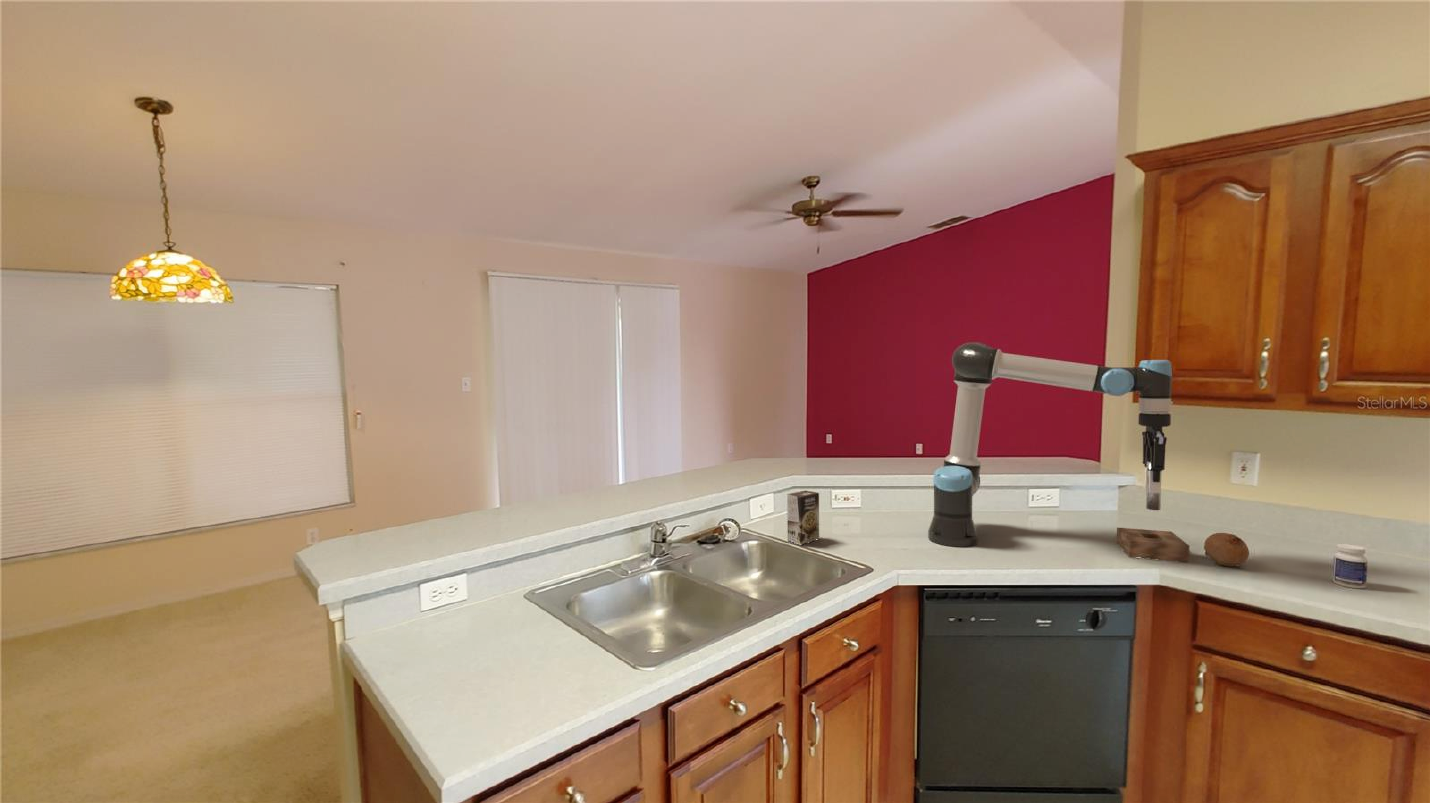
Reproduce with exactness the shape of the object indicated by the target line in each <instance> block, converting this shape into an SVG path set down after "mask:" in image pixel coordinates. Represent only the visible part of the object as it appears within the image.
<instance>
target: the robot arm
mask: <svg viewBox="0 0 1430 803" xmlns="http://www.w3.org/2000/svg"><path fill="white" fill-rule="evenodd" d="M951 363H952V367H953V370H954V378H953V379H954V380H953V382H954V383H955V384H956V385H957V391H956V392H957V393H956V402H955V410H954V417H953V424H952V434H951V442H950V449H949V454H948V455H947V456H945V457H944V461H943V466H941V467H939V468H937V469H936V470H935V471H934V473H933V474H934V475H933V517H932V519H931V522H930V525H929V527H928V532H927V538H928V539H929V540H930V541H931V542H933V543H935V544H938V545H941V546H949V547H960V548H961V547H962V548H963V547H971V546H975V545H977V544H978V542H979V534H978V531H977V529H976V525H975V522H974V519H973V496H974V495H975V494H976V493H977V491H978V490H979V489H980V486H981V476H980V474H981V473H980V472H981V466H982V465H981V462H980V461H979V459H978V449H979V441H980V435H981V427H982V426H981V425H982V419H983V418H982V417H983V411H984V403H985V402H984V401H985V397H986V396H985V395H986V389H987V388H988V387H990V386H991V385H992V380H995V379H997V378H1002V379H1009V380H1015V381H1021V382H1023V381H1024V382H1029V383H1035V384H1042V385H1047V386H1048V385H1049V386H1055V387H1060V388H1069V389H1075V390H1080V391H1087V392H1094V393H1099V394H1107V395H1110V396H1114V397H1121V396H1124V395H1126V394H1128V393H1138V411H1139V413H1138V422H1137V423H1138V425H1139V426H1142V427H1145V431H1142V432H1141V435H1142V464H1143V465H1144V490H1146V480H1147V461H1151V469H1148V471H1149V492H1150V493H1161V494H1162V471H1165V469H1166V468H1165V464H1166V462H1165V461H1166V447H1167V446H1166V444H1167V439H1168V438H1167V437H1166V436H1165V433H1164V431H1163V428H1164V427H1165V428H1167V427H1170V426H1171V425H1172V424H1171V423H1172V422H1171V421H1172V415H1171V414H1170V413H1169V412H1171V410H1172V409H1171V408H1172V407H1171V406H1172V405H1173V404H1174V401H1172V385H1173V384H1172V382H1173V372H1172V370H1173V369H1172V368H1173V367H1172V362H1171V361H1170V360H1167V359H1150V360H1149V359H1148V360H1146V359H1145V360H1141V361H1140V362H1139V365H1138V366H1133V367H1130V366H1129V367H1123V366H1122V367H1118V366H1117V367H1113V366H1112V367H1111V366H1110V367H1109V366H1103V365H1102V366H1101V365H1100V366H1099V365H1095V364H1089V363H1088V364H1087V363H1080V362H1073V361H1065V360H1058V359H1049V358H1044V357H1036V356H1027V355H1021V354H1012V353H1007V352H1006V353H1005V352H1003V351H1002V350H1001V349H1000V348H995V347H994V348H992V347H990V346H989V345H987V344H985V343H982V342H966V343H963V344H961V345H960V346H958V347H957V348H956V349H955V350H954V352H953V354H952V357H951Z"/></svg>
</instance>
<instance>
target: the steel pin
mask: <svg viewBox="0 0 1430 803" xmlns="http://www.w3.org/2000/svg"><path fill="white" fill-rule="evenodd" d="M1146 468H1147V480H1146V492H1145V493H1146V496H1145V509H1146V510H1151V511H1161V507H1162V506H1161V505H1162V503H1161V502H1162V500H1161V499H1162V498H1161V496H1162V492H1161V493H1150V492H1149V471H1148V469H1151V461H1147V467H1146Z"/></svg>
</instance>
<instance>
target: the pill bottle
mask: <svg viewBox="0 0 1430 803" xmlns="http://www.w3.org/2000/svg"><path fill="white" fill-rule="evenodd" d="M1336 548H1337V550H1338V551H1337V552H1335V553H1334V555H1333V567H1332V569H1333V570H1332V582H1334V583H1335V584H1337V585H1338V586H1343V587H1346V588H1350V589H1351V588H1352V589H1365V588H1366V587H1367V575H1368V558H1366V556H1364V555H1366V548H1365V547H1363V546H1360V545H1356V544H1350V543H1349V544H1348V543H1338V544H1337V547H1336Z"/></svg>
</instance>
